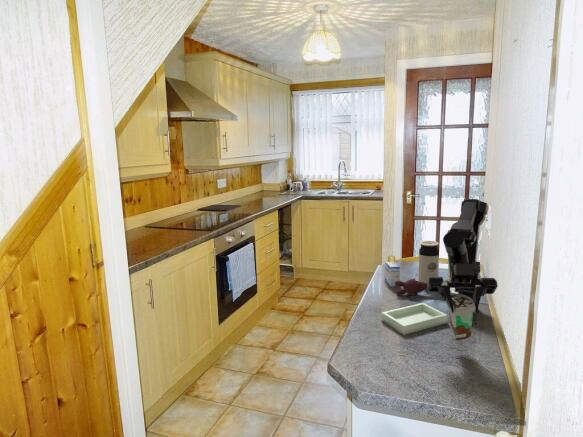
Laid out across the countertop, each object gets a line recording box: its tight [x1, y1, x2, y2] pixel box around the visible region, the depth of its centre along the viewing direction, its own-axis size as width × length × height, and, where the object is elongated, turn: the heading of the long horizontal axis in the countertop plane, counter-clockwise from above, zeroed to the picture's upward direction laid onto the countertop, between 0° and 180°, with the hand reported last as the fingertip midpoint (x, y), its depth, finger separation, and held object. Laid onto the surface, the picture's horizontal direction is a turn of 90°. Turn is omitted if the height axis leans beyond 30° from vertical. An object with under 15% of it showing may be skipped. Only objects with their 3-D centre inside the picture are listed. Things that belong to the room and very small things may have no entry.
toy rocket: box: [395, 278, 427, 296], centre depth 168 cm, size 7×7×15 cm
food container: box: [449, 292, 476, 341], centre depth 122 cm, size 12×6×10 cm, turn 169°
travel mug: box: [418, 240, 440, 283], centre depth 179 cm, size 8×8×18 cm
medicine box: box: [384, 261, 401, 287], centre depth 182 cm, size 8×4×9 cm, turn 5°
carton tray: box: [381, 302, 448, 335], centre depth 144 cm, size 18×12×3 cm, turn 114°
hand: (464, 312), depth 120 cm, fingers closed on food container, 6 cm apart
